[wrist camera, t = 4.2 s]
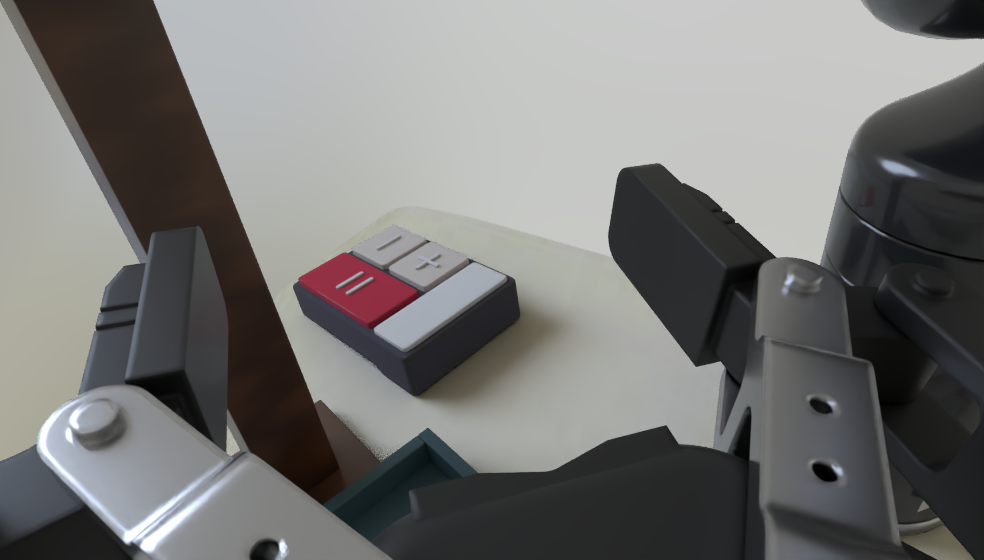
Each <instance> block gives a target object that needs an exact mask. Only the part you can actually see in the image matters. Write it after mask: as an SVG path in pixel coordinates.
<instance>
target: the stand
mask: <svg viewBox="0 0 984 560" xmlns="http://www.w3.org/2000/svg"><path fill="white" fill-rule="evenodd" d="M0 2H1V4H2V6H3V8H4V9H5V11H6V13H7V15H8V17H9V19H10V21H11V23H12V24H13V26H14V28H15V30H16V32H17V34H18V35H19V38H20V39H21V41H22V43H23V45H24V47H25V49H26V51H27V53H28V54H29V56H30V58H31V60H32V62H33V64H34V66H35V67H36V69H37V71H38V73H39V75H40V76H41V79H42V81H43V82H44V84H45V86H46V88H47V90H48V92H49V93H50V95H51V97H52V99H53V101H54V103H55V105H56V107H57V109H58V110H59V112H60V114H61V116H62V118H63V120H64V122H65V123H66V125H67V127H68V129H69V131H70V133H71V134H72V136H73V138H74V140H75V142H76V144H77V146H78V148H79V150H80V151H81V153H82V155H83V157H84V159H85V161H86V163H87V164H88V166H89V168H90V170H91V172H92V174H93V176H94V177H95V179H96V181H97V183H98V185H99V187H100V189H101V191H102V192H103V194H104V196H105V198H106V200H107V202H108V204H109V206H110V207H111V209H112V211H113V213H114V215H115V217H116V218H117V220H118V222H119V224H120V226H121V228H122V230H123V232H124V234H125V235H126V237H127V239H128V241H129V243H130V245H131V246H132V248H133V250H134V252H135V254H136V256H137V258H138V260H139V262H140V263H146V261H147V255H148V250H149V244H150V239H151V235H152V233H153V232H160V231H167V230H174V229H181V228H188V227H196V226H199V227H200V228H201V230H202V232H203V234H204V237H205V240H206V243H207V246H208V249H209V252H210V256H211V259H212V262H213V265H214V268H215V272H216V275H217V278H218V281H219V284H220V287H221V291H222V294H223V297H224V301H225V306H226V311H227V318H228V378H227V426H228V428H229V429H230V431H231V433H232V435H233V437H234V439H235V441H236V443H237V444H238V446H239V448H240V451H239V452H237V453H236V454H234V455H233V456H231V457H233V458H236V457H237V456H238V455H239V454H240V453H242V452H250V453H252V454H254V455H256V456H257V457H259V458H260V459H262V460H263V461H264V462H266V463H267V464H268V465H270V466H271V467H272V468H274V469H275V470H276V471H278V472H279V473H280V474H282V475H283V476H284V477H285V478H287V479H288V480H289V481H291V482H292V483H293V484H295V485H296V486H297V487H299V488H300V489H301V490H302V491H304V492H305V493H306V494H308V495H309V496H310V497H312V498H313V499H314V500H316V501H317V502H318V503H320V504H321V505H323V504H324V503H326V502H327V501H329V500H330V499H331V498H333V497H334V496H335V495H337V494H338V493H340V492H341V491H342V490H344V489H345V488H346V487H348V486H349V485H351V484H352V483H353V482H355V481H356V480H357V479H359V478H360V477H362V476H363V475H364V474H366V473H367V472H368V471H370V470H371V469H373V468H374V467H375V466H377V465H378V464H379V463H381V462H380V461H379V460H378V459H377V458H376V457H375V456H374V455H373V454H372V453H371V452H370V451H369V450H368V449H367V448H366V447H365V446H364V445H363V443H362V442H361V441H360V440H359V439H358V438H357V437H356V436H355V435H354V434H353V433H352V432H351V431H350V430H349V429H348V428H347V427H346V426H345V425H344V424H343V423H342V422H341V421H340V419H339V418H338V417H337V416H336V415H335V414H334V413H333V412H332V411H331V410H330V409H329V408H328V407H327V406H326V405H325V404H324V403H323V402H322V401H321V400H319V401H318V402H316V403H314V402H313V399H312V397H311V394H310V392H309V389H308V387H307V384H306V382H305V379H304V377H303V374H302V372H301V369H300V367H299V364H298V362H297V359H296V357H295V354H294V352H293V349H292V347H291V344H290V342H289V339H288V337H287V334H286V332H285V329H284V327H283V324H282V322H281V319H280V317H279V314H278V312H277V309H276V307H275V304H274V302H273V299H272V297H271V294H270V292H269V289H268V287H267V284H266V282H265V279H264V277H263V274H262V272H261V269H260V267H259V264H258V262H257V259H256V257H255V254H254V252H253V249H252V247H251V244H250V242H249V239H248V237H247V234H246V232H245V229H244V227H243V224H242V222H241V219H240V217H239V214H238V212H237V209H236V207H235V204H234V202H233V199H232V197H231V194H230V191H229V189H228V186H227V184H226V181H225V179H224V176H223V174H222V172H221V169H220V167H219V164H218V161H217V159H216V157H215V154H214V151H213V149H212V147H211V144H210V141H209V139H208V136H207V134H206V131H205V129H204V127H203V124H202V121H201V119H200V116H199V114H198V111H197V109H196V107H195V104H194V101H193V99H192V96H191V94H190V91H189V89H188V86H187V84H186V81H185V79H184V76H183V74H182V71H181V69H180V66H179V64H178V61H177V59H176V56H175V54H174V51H173V49H172V46H171V44H170V41H169V39H168V36H167V34H166V31H165V29H164V26H163V24H162V21H161V19H160V16H159V14H158V11H157V9H156V6H155V4H154V1H153V0H0Z"/></svg>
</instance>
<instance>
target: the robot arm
mask: <svg viewBox="0 0 984 560" xmlns="http://www.w3.org/2000/svg"><path fill="white" fill-rule="evenodd" d="M861 1H862V3H863V5H864V6H865V7H866V8H867V9H868V10H869V11H870V12H871V13H872V14H873V15H874V16H875V18H876V19H878V20H879V21H881V22H883V23H884V24H886V25H888V26H890V27H891V28H893V29H895V30H897V31H901V32H905V33H910V34H914V35H919V36H924V37H928V38H935V39H948V40H957V39H977V38H978V39H984V0H861ZM608 234H609V235H608V239H609V247H610V251H611V253H612V256H613V258H614V260H615V262H616V263H617V264H618V266H619V267H620V268H621V270H622V271H623V272H624V273H625V275H626V276H627V277H628V279H629V280H630V281H631V283H632V284H633V285H634V287H635V288H636V289H637V290H638V292H639V293H640V294H641V296H642V297H643V298H644V300H645V301H646V302H647V304H648V305H649V306H650V307H651V309H652V310H653V311H654V313H655V314H656V315H657V317H658V318H659V319H660V320H661V322H662V323H663V324H664V326H665V327H666V328H667V330H668V331H669V332H670V334H671V335H672V336H673V337H674V339H675V340H676V341H677V343H678V344H679V345H680V347H681V348H682V349H683V350H684V352H685V353H686V354H687V356H688V357H689V358H690V360H691V361H692V362H693V364H694V365H695V366H696V367H698V366H702V365H706V364H711V363H715V362H719V361H721V362H722V364H723V365H724V366H725V368H724V371H723V374H722V376H721V380H720V389H719V398H718V407H717V417H716V426H715V435H714V445H713V449H712V448H707V447H702V446H695V445H684V444H678V442H677V441H676V439H675V438H674V436H673V435H672V433H671V432H670V430H669V429H668V427H667V426H662V427H658V428H654V429H650V430H646V431H642V432H638V433H634V434H630V435H626V436H622V437H618V438H615V439H611V440H607V441H606V442H604V443H602V444H600V445H598V446H597V447H595V448H593V449H591V450H589V451H588V452H586V453H584V454H582V455H580V456H579V457H577V458H575V459H573V460H571V461H570V462H568V463H566V464H564V465H562V466H561V467H559V468H557V469H555V470H552V471H548V472H518V473H477V474H473V475H469V476H465V477H461V478H457V479H453V480H449V481H445V482H441V483H437V484H434V485H430V486H426V487H422V488H418V489H414V490H410V491H409V498H410V508H411V513H410V514H408V515H406V516H404V517H403V518H401V519H399V520H397V521H396V522H394V523H393V524H392V525H390V526H389V527H387V528H386V529H385V530H383V531H382V532H381V533H380V534H379V535H377V536H376V537H375V538H374V539H373V540H372V541H371V542H369V541H368V540H367V539H365V538H364V537H363V536H361V535H360V534H359V533H358V532H356V531H355V530H354V529H352V528H351V527H350V526H348V525H347V524H346V523H344V522H343V521H342V520H341V519H339V518H338V517H337V516H335V515H334V514H333V513H331V512H330V511H329V510H327V509H326V508H325V507H323V506H322V505H321V504H320V503H318V502H317V501H316V500H314V499H313V498H312V497H310V496H309V495H308V494H306V493H305V492H304V491H302V490H301V489H300V488H299V487H297V486H296V485H295V484H293V483H292V482H291V481H289V480H288V479H287V478H285V477H284V476H283V475H282V474H280V473H279V472H278V471H276V470H275V469H274V468H272V467H271V466H270V465H268V464H267V463H266V462H264V461H263V460H262V459H260V458H259V457H257V456H256V455H254V454H252V453H250V452H242V453H240V454H239V455H238V456H237V457H236V458H233V457H231V456H229V455H228V454H227V453H226V439H227V378H228V318H227V311H226V306H225V301H224V297H223V294H222V291H221V287H220V284H219V281H218V278H217V275H216V272H215V268H214V265H213V262H212V259H211V256H210V252H209V249H208V246H207V243H206V240H205V237H204V234H203V232H202V230H201V228H200V227H199V226H196V227H188V228H181V229H174V230H167V231H160V232H153V233H152V235H151V239H150V244H149V250H148V255H147V261H146V263H141V264H135V265H128V266H124V267H123V268H122V269H121V270H120V271H119V272H118V274H117V275H116V276H115V277H114V278H113V279H112V280H111V282H110V283H109V284H108V285H107V286H106V288H105V292H104V295H103V299H102V304H101V307H100V310H101V313H99V315H98V319H97V323H96V331H95V332H94V335H93V339H92V343H91V346H90V350H89V355H88V358H87V363H86V366H85V370H84V374H83V378H82V382H81V386H80V390H79V394H78V396H77V397H75V398H73V399H71V400H69V401H68V402H67V403H65V404H63V405H62V406H61V407H60V408H59V409H57V410H56V411H55V412H54V413H53V414H52V415H51V416H50V417H49V418H48V419H47V421H46V422H45V424H44V425H43V426H42V428H41V430H40V432H39V435H38V438H37V444H36V445H34V446H32V447H31V448H29V449H27V450H25V451H23V452H21V453H19V454H17V455H14V456H12V457H10V458H7V459H6V460H3V461H0V560H937V559H935V558H933V557H931V556H929V555H927V554H925V553H923V552H922V551H920V550H918V549H916V548H914V547H912V546H910V545H908V544H906V543H904V542H902V541H900V536H899V535H911V534H918V533H922V532H926V531H929V530H932V529H934V528H936V527H938V526H940V525H942V524H943V523H944V525H945V526H946V527H947V528H948V529H949V530H950V532H951V533H952V534H953V535H954V536H955V537H956V539H957V540H958V541H959V542H960V543H961V544H962V545H963V547H964V548H965V549H966V550H967V551H968V552H969V554H970V555H971V556H972V557H973V558H974V559H975V560H984V63H982V64H980V65H979V66H977V67H975V68H973V69H972V70H970V71H968V72H966V73H964V74H962V75H960V76H958V77H956V78H953V79H951V80H949V81H947V82H944V83H942V84H939V85H937V86H934V87H932V88H930V89H926V90H924V91H921V92H919V93H916V94H914V95H911V96H908V97H905V98H902V99H900V100H897V101H895V102H893V103H890V104H888V105H886V106H884V107H883V108H881V109H879V110H878V111H876V112H875V113H873V114H872V115H871V116H869V117H868V118H867V119H866V120H865V121H864V122H863V123H862V124H861V126H860V127H859V128H858V130H857V131H856V133H855V135H854V137H853V139H852V141H851V144H850V148H849V150H848V154H847V158H846V162H845V166H844V170H843V174H842V178H841V183H840V187H839V191H838V195H837V199H836V203H835V207H834V210H833V215H832V218H831V222H830V226H829V230H828V234H827V238H826V244H825V247H824V251H823V255H822V259H821V263H820V265H817V264H815V263H813V262H810V261H807V260H803V259H798V258H788V257H782V258H776V257H775V256H774V255H773V254H772V253H771V252H769V250H768V249H766V248H765V247H764V246H763V245H762V244H761V243H760V242H759V241H757V239H755V238H754V237H753V236H752V235H751V234H750V233H749V232H748V231H747V230H746V229H744V228H743V227H742V226H741V225H740V224H739V223H735V220H734V219H733V218H732V217H731V216H730V215H729V214H728V213H727V212H725V211H724V212H723V211H722V208H721V207H720V206H719V205H718V204H717V203H716V202H715V201H714V200H712V199H711V198H710V197H709V196H708V195H707V194H705V193H703V192H701V191H699V190H697V189H695V188H693V187H691V186H689V185H687V184H685V183H683V184H682V183H681V182H680V181H679V180H678V179H677V178H676V177H674V176H673V175H672V174H671V173H670V172H669V171H668V170H667V169H666V168H665V167H664V166H662V165H661V164H657V163H656V164H649V165H641V166H634V167H627V168H623V169H622V170H621V171H620V173H619V175H618V178H617V183H616V189H615V196H614V201H613V208H612V214H611V220H610V226H609V233H608Z"/></svg>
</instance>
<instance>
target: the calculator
mask: <svg viewBox="0 0 984 560" xmlns="http://www.w3.org/2000/svg"><path fill="white" fill-rule="evenodd" d="M298 280H299V281H298V282H297V283H295V284H294V285H293V289H294V291H295V294H296V296H297V299H298V301H299V304H300V307H301V309H302V311H303V314H304V315H305V316H307V317H308V318H310V319H311V320H313V321H314V322H316V323H317V324H318V325H320V326H321V327H323V328H324V329H326V330H327V331H328V332H330V333H331V334H333V335H334V336H336V337H337V338H338V339H340V340H341V341H343V342H344V343H346V344H347V345H349V346H350V347H351V348H353V349H354V350H356V351H357V352H359V353H360V354H361V355H363V356H364V357H366V358H367V359H369V360H370V361H371V362H373V363H374V364H375V365H376V366H377V368H378V369H379V370H380V371H381V372H382V373H383V374H384V375H385V376H386V377H388V378H389V379H391V380H392V381H393V382H395V383H396V384H398V385H399V386H400V387H402V388H403V389H405V390H406V391H408V392H409V393H410V394H412V395H418V394H420V393H421V392H423V391H424V390H425V389H426V388H428V387H429V386H430V385H432V384H433V383H434V382H436V381H437V380H438V379H440V378H441V377H442V376H443V375H445V374H446V373H447V372H449V371H450V370H451V369H453V368H454V367H455V366H457V365H458V364H459V363H460V362H462V361H463V360H464V359H466V358H467V357H468V356H470V355H471V354H472V353H474V352H475V351H476V350H478V349H479V348H480V347H481V346H483V345H484V344H485V343H487V342H488V341H489V340H491V339H492V338H493V337H495V336H496V335H497V334H498V333H500V332H501V331H502V330H504V329H505V328H506V327H508V326H509V325H510V324H512V323H513V322H514V321H515V320H517V319H518V318H519V317H520V310H519V304H518V297H517V290H516V283H515V279H513V278H512V277H510V276H507V275H505V274H503V273H501V272H498V271H496V270H494V269H492V268H489V267H487V266H485V265H483V264H480V263H478V262H476V261H474V260H471V259H469V258H468V257H466V256H464V255H462V254H460V253H458V252H455V251H453V250H451V249H448V248H446V247H444V246H442V245H439V244H437V243H435V242H431V241H429V240H426V239H425V238H424V237H421V236H419V235H417V234H415V233H412V232H410V231H408V230H406V229H403V228H401V227H399V226H397V225H392V226H390V227H388V228H386V229H384V230H383V231H381V232H379V233H377V234H375V235H374V236H372V237H370V238H368V239H367V240H365V241H363V242H361V243H360V244H358V245H356V246H354V247H353V248H352V251H351V252H349V253H342V254H340V255H338V256H336V257H335V258H333V259H331V260H329V261H328V262H326V263H324V264H322V265H320V266H319V267H317V268H315V269H313V270H312V271H310V272H308V273H306V274H305V275H303V276H301V277H300V278H299V279H298Z"/></svg>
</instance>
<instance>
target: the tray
mask: <svg viewBox="0 0 984 560" xmlns="http://www.w3.org/2000/svg"><path fill="white" fill-rule="evenodd" d="M477 473H478V472H477V471H475V470H474V469H473V468H472V467H471V466H470V465H469V464H468V463H467V462H465V461H464V460H463V459H462V458H461V457H460V456H459V455H458V454H457V453H455V452H454V451H453V450H452V449H451V448H450V447H449V446H448V445H447V444H446V443H444V442H443V441H442V440H441V439H440V438H439V437H438V436H437V435H436V434H434V433H433V432H432V431H431V430H430V429H429V428H427V429H426V430H424V431H423V432H422V433H420V434H419V435H418V436H416V437H415V438H414V439H412V440H411V441H410V442H408V443H407V444H405V445H404V446H403V447H401V448H400V449H399V450H397V451H396V452H394V453H393V454H392V455H390V456H389V457H388V458H386V459H385V460H384V461H382V462H381V463H379V464H378V465H377V466H375V467H374V468H373V469H371V470H370V471H368V472H367V473H366V474H364V475H363V476H362V477H360V478H359V479H357V480H356V481H355V482H353V483H352V484H351V485H349V486H348V487H346V488H345V489H344V490H342V491H341V492H340V493H338V494H337V495H335V496H334V497H333V498H331V499H330V500H329V501H327V502H326V503H324V504H323V505H322V506H323V507H325V508H326V509H327V510H329V511H330V512H331V513H333V514H334V515H335V516H337V517H338V518H339V519H341V520H342V521H343V522H344V523H346V524H347V525H348V526H350V527H351V528H352V529H354V530H355V531H356V532H358V533H359V534H360V535H361V536H363V537H364V538H365V539H367V540H368V541H369V542H371V541H372V540H373V539H374V538H375V537H376V536H377V535H379V534H380V533H381V532H382V531H383V530H385V529H386V528H387V527H389V526H390V525H392V524H393V523H394V522H396V521H397V520H399V519H401V518H403V517H404V516H406V515H408V514H410V513H411V508H410V498H409V491H410V490H414V489H418V488H422V487H426V486H430V485H434V484H437V483H441V482H445V481H449V480H453V479H457V478H461V477H465V476H469V475H473V474H477Z"/></svg>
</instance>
